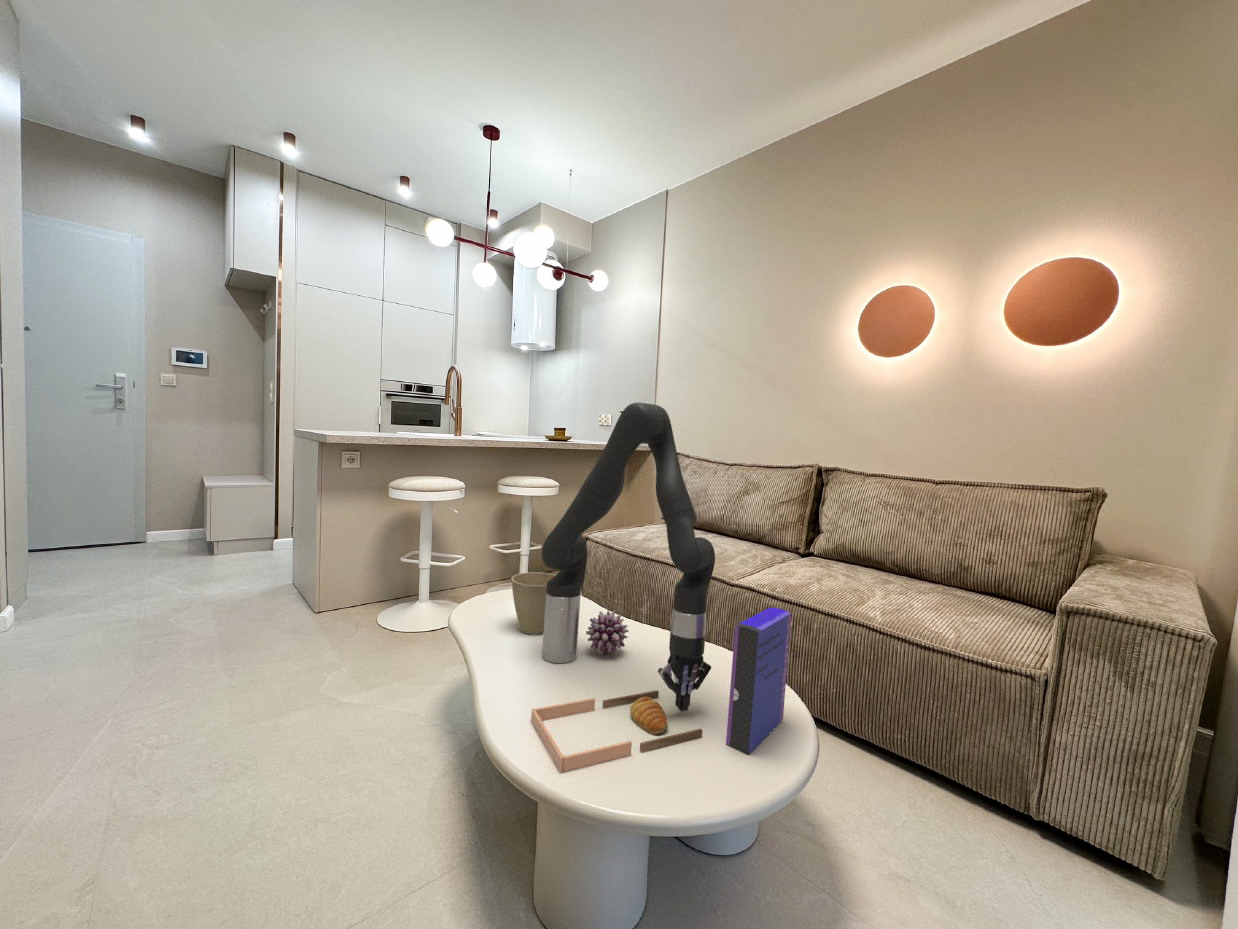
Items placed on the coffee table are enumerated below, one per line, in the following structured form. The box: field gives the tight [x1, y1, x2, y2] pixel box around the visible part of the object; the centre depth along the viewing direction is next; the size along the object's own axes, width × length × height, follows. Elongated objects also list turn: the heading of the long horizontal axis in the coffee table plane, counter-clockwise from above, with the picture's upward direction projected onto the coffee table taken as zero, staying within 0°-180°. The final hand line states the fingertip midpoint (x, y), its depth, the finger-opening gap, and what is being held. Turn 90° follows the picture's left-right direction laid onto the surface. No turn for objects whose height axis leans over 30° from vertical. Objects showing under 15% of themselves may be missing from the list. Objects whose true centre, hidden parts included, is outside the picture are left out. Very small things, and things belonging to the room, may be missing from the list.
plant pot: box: [511, 571, 557, 635], centre depth 149 cm, size 15×15×16 cm
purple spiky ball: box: [585, 610, 629, 655], centre depth 136 cm, size 12×12×12 cm
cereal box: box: [725, 606, 792, 756], centre depth 101 cm, size 17×5×24 cm, turn 141°
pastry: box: [630, 697, 669, 735], centre depth 102 cm, size 9×7×4 cm
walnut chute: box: [602, 689, 703, 753], centre depth 103 cm, size 17×14×2 cm
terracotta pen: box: [530, 697, 633, 774], centre depth 95 cm, size 17×14×2 cm
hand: (682, 709), depth 107 cm, fingers closed
